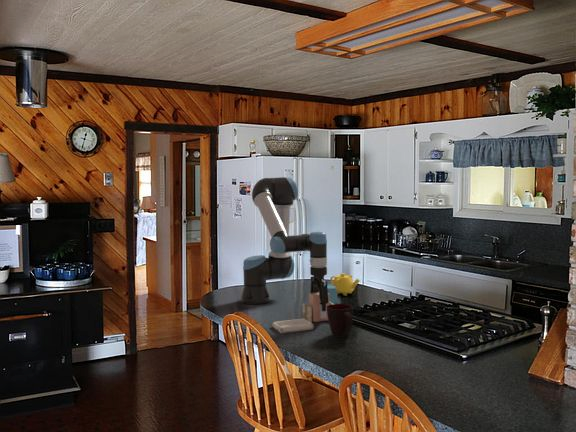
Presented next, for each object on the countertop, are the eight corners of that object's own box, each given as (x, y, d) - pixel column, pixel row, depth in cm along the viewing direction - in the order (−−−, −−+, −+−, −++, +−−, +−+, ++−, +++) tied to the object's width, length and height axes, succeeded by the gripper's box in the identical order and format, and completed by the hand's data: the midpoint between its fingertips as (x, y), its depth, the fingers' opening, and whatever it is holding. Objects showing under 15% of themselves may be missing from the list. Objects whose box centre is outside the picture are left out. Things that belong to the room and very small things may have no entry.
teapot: (360, 295, 307) (360, 275, 306) (336, 297, 304) (335, 276, 303) (351, 290, 321) (351, 270, 320) (328, 291, 318) (327, 271, 317)
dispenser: (302, 318, 262) (302, 303, 261) (328, 315, 266) (328, 301, 266) (309, 323, 254) (309, 307, 254) (336, 319, 259) (335, 304, 258)
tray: (272, 326, 250) (272, 322, 250) (304, 322, 255) (304, 318, 255) (280, 333, 240) (280, 328, 240) (313, 329, 245) (313, 324, 245)
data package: (337, 312, 272) (337, 287, 271) (328, 313, 271) (328, 288, 270) (328, 306, 284) (328, 282, 283) (320, 307, 282) (319, 283, 281)
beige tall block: (309, 319, 261) (308, 293, 260) (325, 317, 264) (324, 291, 263) (313, 321, 257) (313, 295, 256) (329, 319, 260) (329, 293, 259)
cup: (345, 330, 242) (344, 302, 241) (361, 339, 229) (361, 310, 228) (323, 333, 238) (323, 305, 237) (339, 342, 225) (338, 312, 224)
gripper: (302, 263, 267) (303, 311, 269) (320, 270, 247) (321, 322, 249) (317, 262, 269) (317, 309, 271) (335, 269, 250) (336, 320, 252)
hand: (319, 315), depth 260 cm, fingers open, 8 cm apart
